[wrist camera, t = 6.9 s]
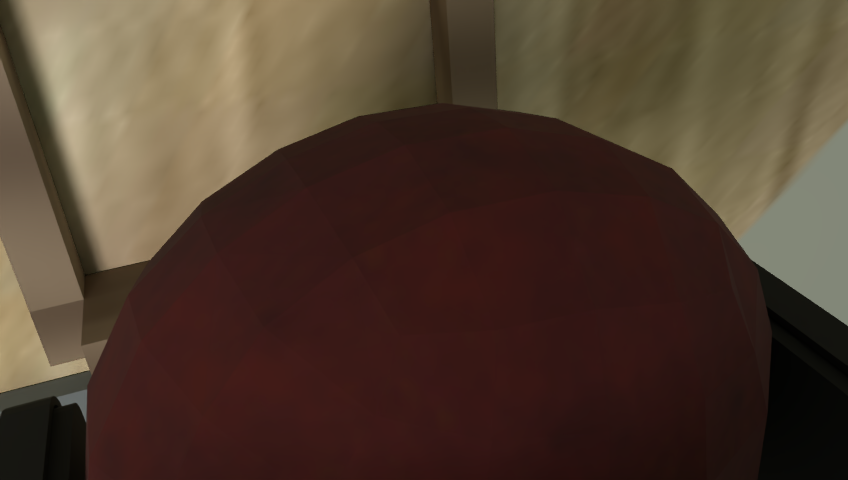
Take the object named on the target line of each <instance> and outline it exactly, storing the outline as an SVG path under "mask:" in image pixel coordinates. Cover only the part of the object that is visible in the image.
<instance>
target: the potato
mask: <svg viewBox="0 0 848 480" xmlns="http://www.w3.org/2000/svg"><path fill="white" fill-rule="evenodd" d="M771 343H772V330H771V325H770V321H769V317H768V312H767V308H766V304H765V299H764V295H763V291H762V286H761V282H760V278H759V273H758V269H757V268H756V266H755V265H754V264H753V262H752V261H751V259H750V258H749V257H748V255H747V254H746V253H745V251H744V250H743V249H742V247H741V246H740V244H739V243H738V242H737V240H736V239H735V238H734V236H733V235H732V233H731V232H730V231H729V229H728V228H727V227H726V225H725V224H724V222H723V221H722V220H721V218H720V217H719V216H718V214H717V213H716V212H715V211H714V210H713V209H712V208H711V207H710V206H709V205H708V204H707V203H706V202H705V201H704V200H703V199H702V198H701V197H700V196H699V195H698V194H697V193H696V192H695V191H694V190H693V189H692V188H691V187H690V186H689V185H688V184H687V183H686V182H685V181H684V180H683V179H682V178H681V177H680V176H679V175H678V174H677V173H676V172H675V171H674V170H673V169H672V168H669V167H667V166H665V165H662V164H660V163H658V162H656V161H653V160H651V159H649V158H646V157H644V156H642V155H639V154H637V153H635V152H632V151H630V150H628V149H626V148H623V147H621V146H619V145H616V144H614V143H612V142H609V141H607V140H605V139H602V138H600V137H598V136H596V135H593V134H591V133H589V132H586V131H584V130H582V129H579V128H577V127H575V126H573V125H570V124H568V123H566V122H563V121H561V120H559V119H556V118H550V117H544V116H538V115H533V114H527V113H521V112H513V111H505V110H497V109H489V108H480V107H472V106H464V105H456V104H448V103H438V104H432V105H425V106H419V107H413V108H407V109H401V110H395V111H388V112H382V113H376V114H370V115H364V116H358V117H356V118H353V119H351V120H348V121H346V122H343V123H341V124H339V125H336V126H334V127H331V128H329V129H327V130H324V131H322V132H319V133H317V134H314V135H312V136H310V137H307V138H305V139H302V140H300V141H298V142H295V143H293V144H290V145H288V146H285V147H283V148H281V149H278V150H277V151H275V152H274V153H272V154H271V155H269V156H268V157H266V158H265V159H264V160H262V161H261V162H259V163H258V164H256V165H255V166H253V167H252V168H250V169H249V170H247V171H246V172H245V173H243V174H242V175H240V176H239V177H237V178H236V179H234V180H233V181H231V182H230V183H228V184H227V185H225V186H224V187H223V188H221V189H220V190H218V191H217V192H215V193H214V194H212V195H211V196H209V197H208V198H206V199H205V200H204V201H202V202H201V203H200V205H199V206H198V207H197V208H196V209H195V210H194V211H193V212H192V214H191V215H190V216H189V217H188V218H187V219H186V220H185V222H184V223H183V224H182V225H181V226H180V227H179V228H178V229H177V231H176V232H175V233H174V234H173V235H172V236H171V237H170V239H169V240H168V241H167V242H166V243H165V244H164V245H163V246H162V248H161V249H160V250H159V251H158V252H157V253H156V254H155V256H154V257H153V258H152V259H151V260H150V261H149V262H148V263H147V265H146V266H145V268H144V269H143V271H142V273H141V274H140V276H139V278H138V279H137V281H136V282H135V284H134V286H133V287H132V289H131V291H130V292H129V294H128V296H127V298H126V300H125V302H124V305H123V307H122V309H121V311H120V314H119V316H118V318H117V320H116V323H115V325H114V327H113V329H112V331H111V334H110V336H109V338H108V340H107V343H106V345H105V347H104V349H103V352H102V354H101V356H100V358H99V360H98V363H97V365H96V367H95V369H94V372H93V374H92V376H91V378H90V381H89V383H88V385H87V413H86V452H85V480H758V473H759V467H760V460H761V453H762V447H763V440H764V434H765V427H766V420H767V414H768V397H769V379H770V361H771Z"/></svg>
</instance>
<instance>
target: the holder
mask: <svg viewBox="0 0 848 480" xmlns="http://www.w3.org/2000/svg"><path fill="white" fill-rule="evenodd" d="M430 12H431V25H432V39H433V53H434V67H435V80H436V94H437V104H438V103H448V104H456V105H464V106H472V107H480V108H489V109H497V83H496V53H495V24H494V0H430ZM0 237H1V240H2V242H3V245H4V247H5V250H6V253H7V255H8V258H9V260H10V263H11V265H12V268H13V271H14V273H15V276H16V278H17V281H18V283H19V286H20V289H21V291H22V294H23V296H24V299H25V301H26V304H27V307H28V309H29V312H30V314H31V317H32V319H33V322H34V325H35V327H36V330H37V332H38V335H39V337H40V340H41V343H42V345H43V348H44V350H45V353H46V355H47V358H48V361H49V363H50V366H54V365H58V364H62V363H66V362H70V361H74V360H78V359H82V358H86V361H87V364H88V367H89V369H90V372H91V375H92V374H93V372H94V369H95V367H96V365H97V363H98V360H99V358H100V356H101V354H102V352H103V349H104V347H105V345H106V343H107V340H108V338H109V336H110V334H111V331H112V329H113V327H114V325H115V323H116V320H117V318H118V316H119V314H120V311H121V309H122V307H123V305H124V302H125V300H126V298H127V296H128V294H129V292H130V291H131V289H132V287H133V286H134V284H135V282H136V281H137V279H138V278H139V276H140V274H141V273H142V271H143V269H144V268H145V266H146V265H147V263H148V262H149V261H146V262H142V263H138V264H133V265H129V266H124V267H120V268H115V269H111V270H107V271H102V272H98V273H93V274H89V275H85V274H84V271H83V268H82V265H81V262H80V259H79V256H78V253H77V250H76V247H75V244H74V241H73V239H72V236H71V233H70V230H69V227H68V224H67V221H66V218H65V215H64V212H63V209H62V206H61V203H60V200H59V197H58V194H57V191H56V188H55V185H54V182H53V179H52V176H51V173H50V170H49V168H48V165H47V162H46V159H45V156H44V153H43V150H42V147H41V144H40V141H39V138H38V135H37V132H36V129H35V126H34V123H33V120H32V117H31V114H30V111H29V108H28V105H27V102H26V99H25V97H24V94H23V91H22V88H21V85H20V82H19V79H18V76H17V73H16V70H15V67H14V64H13V61H12V58H11V55H10V52H9V49H8V46H7V43H6V40H5V37H4V34H3V31H2V28H1V26H0Z"/></svg>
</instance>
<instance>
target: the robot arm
mask: <svg viewBox="0 0 848 480" xmlns="http://www.w3.org/2000/svg"><path fill="white" fill-rule="evenodd" d="M751 261H752V260H751ZM752 262H753V261H752ZM753 264H754V265H755V266H756V268H757V269H758V273H759V278H760V282H761V286H762V291H763V295H764V299H765V304H766V308H767V312H768V317H769V321H770V325H771V330H772V343H771V361H770V379H769V397H768V414H767V420H766V427H765V434H764V440H763V447H762V453H761V460H760V467H759V473H758V480H848V326H847V325H845V324H844V323H843V322H841V321H840V320H838V319H837V318H835V317H834V316H832V315H831V314H830V313H828V312H827V311H825V310H824V309H822V308H821V307H819V306H818V305H816V304H815V303H813V302H812V301H811V300H809V299H808V298H806V297H805V296H803V295H802V294H800V293H799V292H797V291H796V290H794V289H793V288H792V287H790V286H789V285H787V284H786V283H784V282H783V281H781V280H780V279H778V278H777V277H775V276H774V275H773V274H771V273H770V272H768V271H767V270H765V269H764V268H762V267H761V266H759V265H758V264H756V263H755V262H753ZM85 452H86V421H85V419H84V416H83V414H82V411H81V409H80V407H79V405H78V404H77V403H72V404H68V405H64V406H62V405H61V403H60V401H59V400H58V398H57V397H55V396H51V397H47V398H43V399H39V400H36V401H32V402H28V403H24V404H21V405H17V406H13V407H9V408H5V409H4V410H3V411H2V413H1V416H0V480H85Z"/></svg>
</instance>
